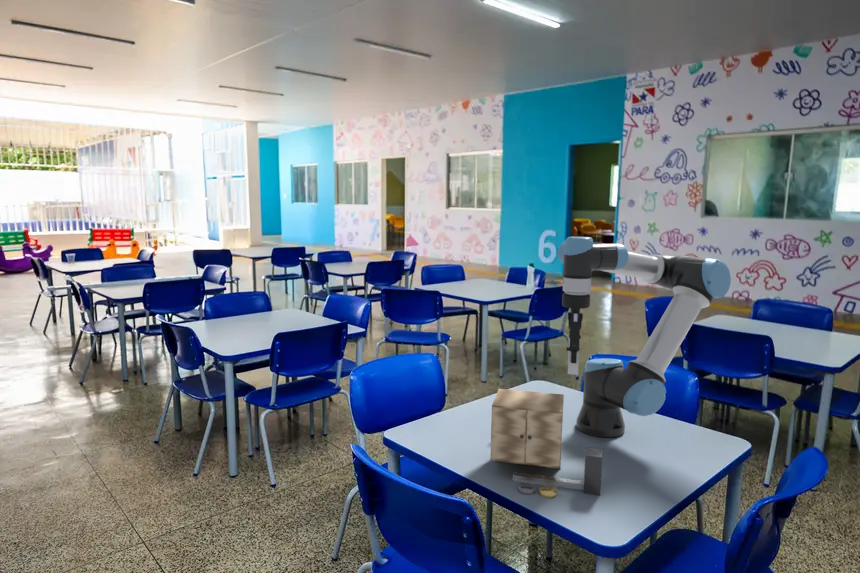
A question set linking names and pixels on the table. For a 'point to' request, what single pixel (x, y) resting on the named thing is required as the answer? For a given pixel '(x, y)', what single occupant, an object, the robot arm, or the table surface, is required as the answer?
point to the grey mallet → (588, 485)
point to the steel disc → (526, 488)
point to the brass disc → (548, 491)
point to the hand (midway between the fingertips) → (572, 367)
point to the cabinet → (527, 428)
